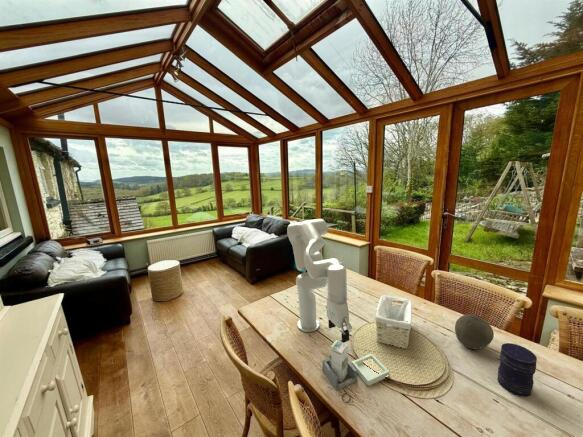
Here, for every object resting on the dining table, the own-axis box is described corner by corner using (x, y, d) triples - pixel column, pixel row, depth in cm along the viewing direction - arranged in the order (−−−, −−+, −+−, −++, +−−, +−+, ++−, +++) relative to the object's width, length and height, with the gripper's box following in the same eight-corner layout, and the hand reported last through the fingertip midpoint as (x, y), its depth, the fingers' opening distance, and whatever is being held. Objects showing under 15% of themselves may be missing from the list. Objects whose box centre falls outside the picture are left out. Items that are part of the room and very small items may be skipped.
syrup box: (336, 367, 104) (335, 338, 102) (348, 374, 101) (348, 344, 98) (329, 376, 100) (328, 346, 97) (342, 383, 96) (341, 352, 94)
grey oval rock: (475, 360, 104) (478, 330, 101) (446, 339, 117) (448, 312, 114) (498, 352, 107) (502, 323, 104) (468, 332, 121) (471, 306, 118)
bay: (322, 370, 103) (322, 360, 102) (342, 362, 107) (342, 352, 106) (335, 390, 94) (335, 379, 93) (357, 380, 97) (357, 370, 96)
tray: (351, 366, 105) (351, 361, 104) (371, 358, 108) (371, 353, 108) (368, 386, 94) (368, 381, 94) (389, 376, 98) (389, 371, 98)
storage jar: (495, 386, 91) (499, 353, 88) (498, 370, 98) (502, 339, 95) (531, 403, 84) (537, 367, 81) (532, 385, 91) (537, 351, 88)
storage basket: (380, 316, 139) (381, 293, 136) (411, 323, 131) (412, 299, 128) (374, 343, 118) (374, 316, 115) (410, 352, 110) (411, 324, 107)
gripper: (318, 288, 100) (320, 324, 103) (341, 308, 84) (343, 350, 87) (333, 284, 103) (335, 320, 106) (358, 303, 87) (359, 344, 90)
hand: (338, 334), depth 96 cm, fingers open, 9 cm apart
